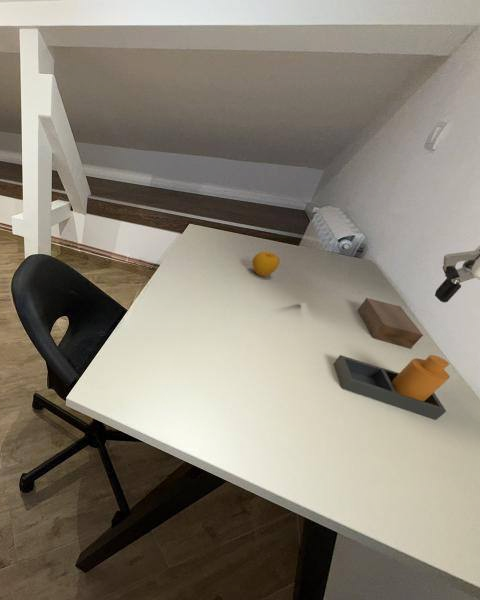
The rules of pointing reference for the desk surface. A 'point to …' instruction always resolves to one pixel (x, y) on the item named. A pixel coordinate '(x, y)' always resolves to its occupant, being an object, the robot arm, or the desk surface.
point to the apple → (265, 263)
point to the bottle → (421, 377)
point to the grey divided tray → (382, 387)
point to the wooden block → (389, 323)
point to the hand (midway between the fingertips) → (471, 306)
